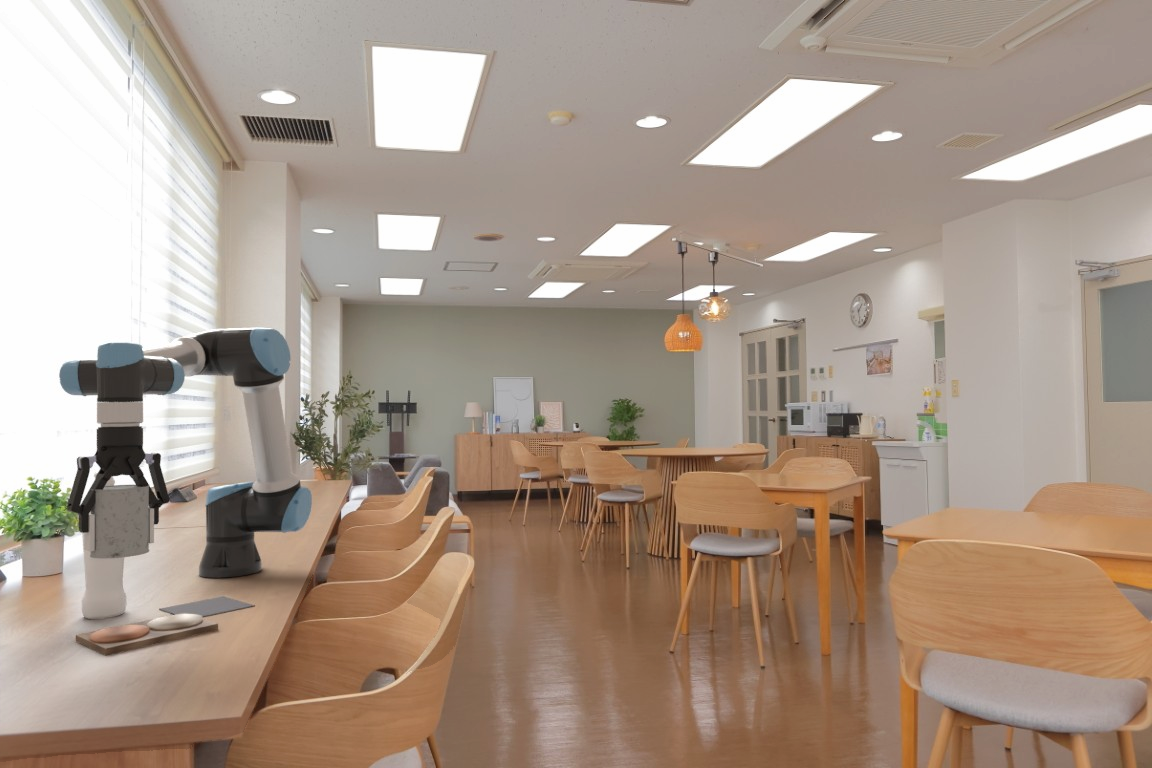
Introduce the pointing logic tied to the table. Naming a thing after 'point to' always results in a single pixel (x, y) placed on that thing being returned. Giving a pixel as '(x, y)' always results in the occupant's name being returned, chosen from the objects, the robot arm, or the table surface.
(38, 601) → the table surface
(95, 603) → the bottle
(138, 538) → the grey marbled cylinder
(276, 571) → the table surface
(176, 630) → the board
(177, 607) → the mat
